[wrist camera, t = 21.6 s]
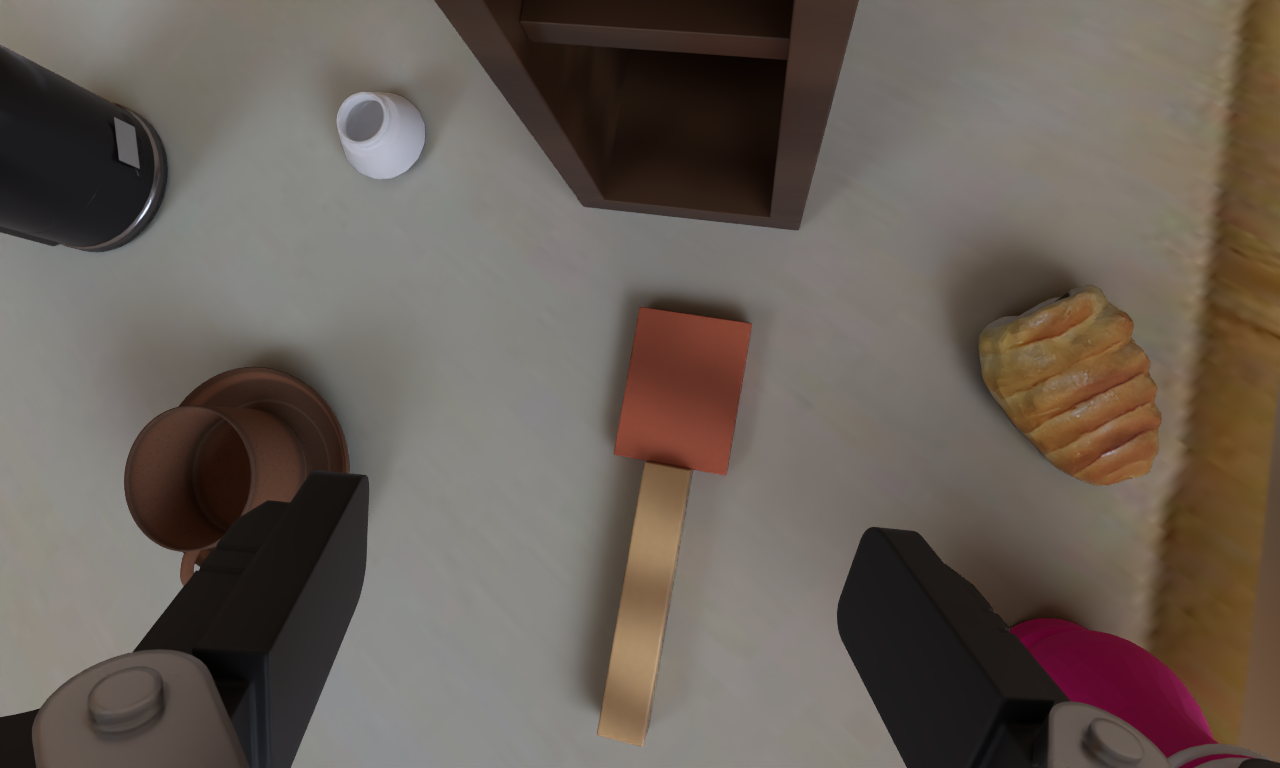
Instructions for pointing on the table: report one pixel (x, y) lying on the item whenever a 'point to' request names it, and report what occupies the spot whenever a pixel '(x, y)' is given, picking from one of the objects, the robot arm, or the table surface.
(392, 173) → the white jar
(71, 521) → the table surface
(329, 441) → the cup and saucer
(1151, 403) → the pastry
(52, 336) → the table surface
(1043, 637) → the pepper mill
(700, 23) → the tall wooden box
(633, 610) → the spatula
